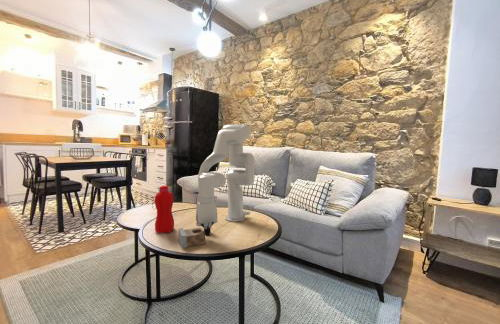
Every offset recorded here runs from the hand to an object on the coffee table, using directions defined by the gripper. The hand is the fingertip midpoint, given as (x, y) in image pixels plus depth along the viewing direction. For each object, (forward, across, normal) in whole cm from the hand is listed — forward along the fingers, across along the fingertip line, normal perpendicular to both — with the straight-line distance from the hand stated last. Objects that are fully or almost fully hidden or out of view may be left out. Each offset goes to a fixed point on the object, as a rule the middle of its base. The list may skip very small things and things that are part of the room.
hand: (207, 235), depth 117 cm
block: (+2, +7, 0) cm, 7 cm away
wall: (+2, +12, 0) cm, 12 cm away
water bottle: (+2, +18, -22) cm, 29 cm away
